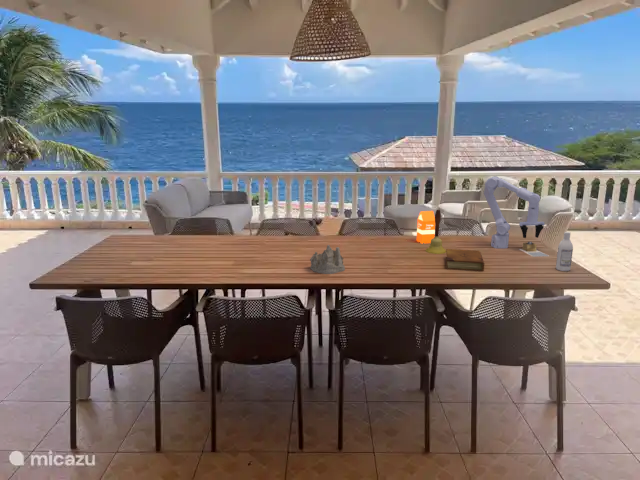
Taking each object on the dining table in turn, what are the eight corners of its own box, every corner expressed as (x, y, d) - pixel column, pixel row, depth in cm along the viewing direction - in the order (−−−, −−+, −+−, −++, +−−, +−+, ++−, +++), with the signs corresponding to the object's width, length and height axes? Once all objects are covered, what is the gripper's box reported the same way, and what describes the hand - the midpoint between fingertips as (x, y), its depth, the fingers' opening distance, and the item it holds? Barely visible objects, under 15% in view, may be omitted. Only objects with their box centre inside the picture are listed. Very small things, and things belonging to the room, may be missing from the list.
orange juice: (416, 240, 324) (417, 210, 320) (428, 240, 326) (430, 209, 322) (421, 243, 317) (423, 212, 312) (434, 242, 319) (436, 211, 314)
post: (528, 252, 297) (529, 242, 296) (526, 251, 299) (527, 241, 298) (531, 252, 297) (533, 242, 296) (529, 251, 300) (530, 241, 298)
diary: (483, 272, 260) (484, 262, 259) (446, 270, 264) (447, 259, 263) (479, 260, 282) (480, 250, 281) (445, 258, 286) (446, 248, 285)
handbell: (450, 252, 297) (453, 210, 291) (434, 254, 291) (436, 212, 285) (437, 247, 307) (439, 207, 302) (421, 249, 302) (423, 208, 296)
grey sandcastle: (349, 270, 261) (347, 242, 258) (322, 276, 253) (320, 247, 250) (332, 264, 274) (330, 238, 271) (306, 270, 266) (304, 243, 263)
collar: (527, 251, 295) (527, 245, 294) (522, 249, 300) (522, 242, 299) (536, 251, 296) (536, 244, 295) (531, 248, 301) (531, 242, 300)
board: (532, 258, 285) (533, 256, 284) (518, 250, 301) (518, 248, 301) (549, 257, 286) (549, 255, 285) (533, 250, 302) (534, 248, 302)
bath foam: (573, 270, 262) (578, 233, 257) (562, 271, 260) (566, 234, 255) (563, 267, 268) (567, 230, 263) (552, 268, 266) (557, 231, 261)
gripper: (524, 216, 288) (522, 239, 291) (548, 215, 290) (545, 238, 293) (518, 214, 295) (516, 236, 298) (541, 213, 297) (539, 236, 300)
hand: (530, 237), depth 296 cm, fingers open, 7 cm apart
